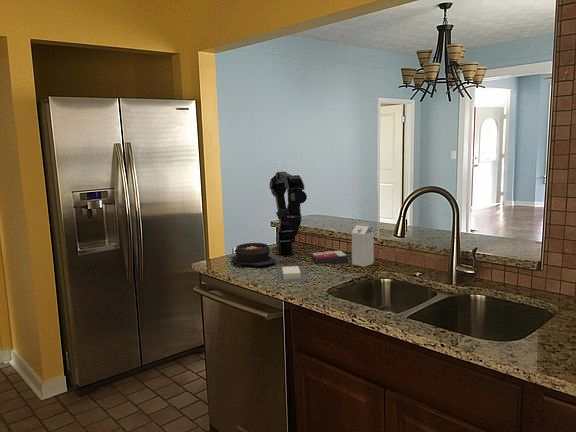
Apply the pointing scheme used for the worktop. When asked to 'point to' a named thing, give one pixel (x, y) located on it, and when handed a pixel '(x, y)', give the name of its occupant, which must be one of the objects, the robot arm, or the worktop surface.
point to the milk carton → (362, 245)
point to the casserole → (253, 254)
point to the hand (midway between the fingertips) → (295, 235)
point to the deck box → (291, 273)
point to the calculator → (329, 257)
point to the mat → (280, 279)
